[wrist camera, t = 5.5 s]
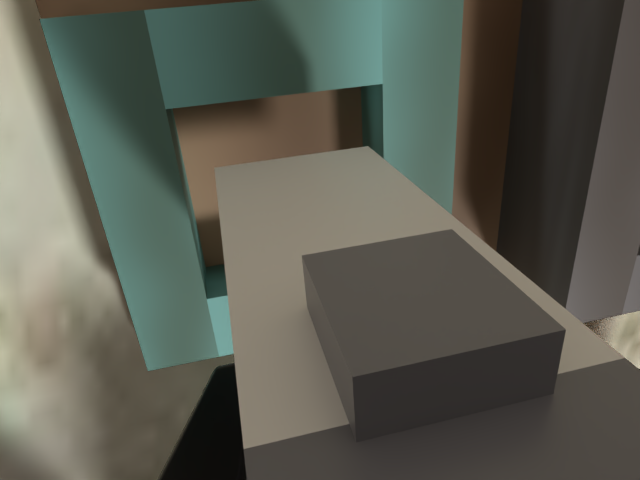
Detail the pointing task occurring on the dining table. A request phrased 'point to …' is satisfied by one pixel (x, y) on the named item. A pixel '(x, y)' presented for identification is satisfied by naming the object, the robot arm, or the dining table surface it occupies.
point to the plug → (404, 339)
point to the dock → (356, 132)
